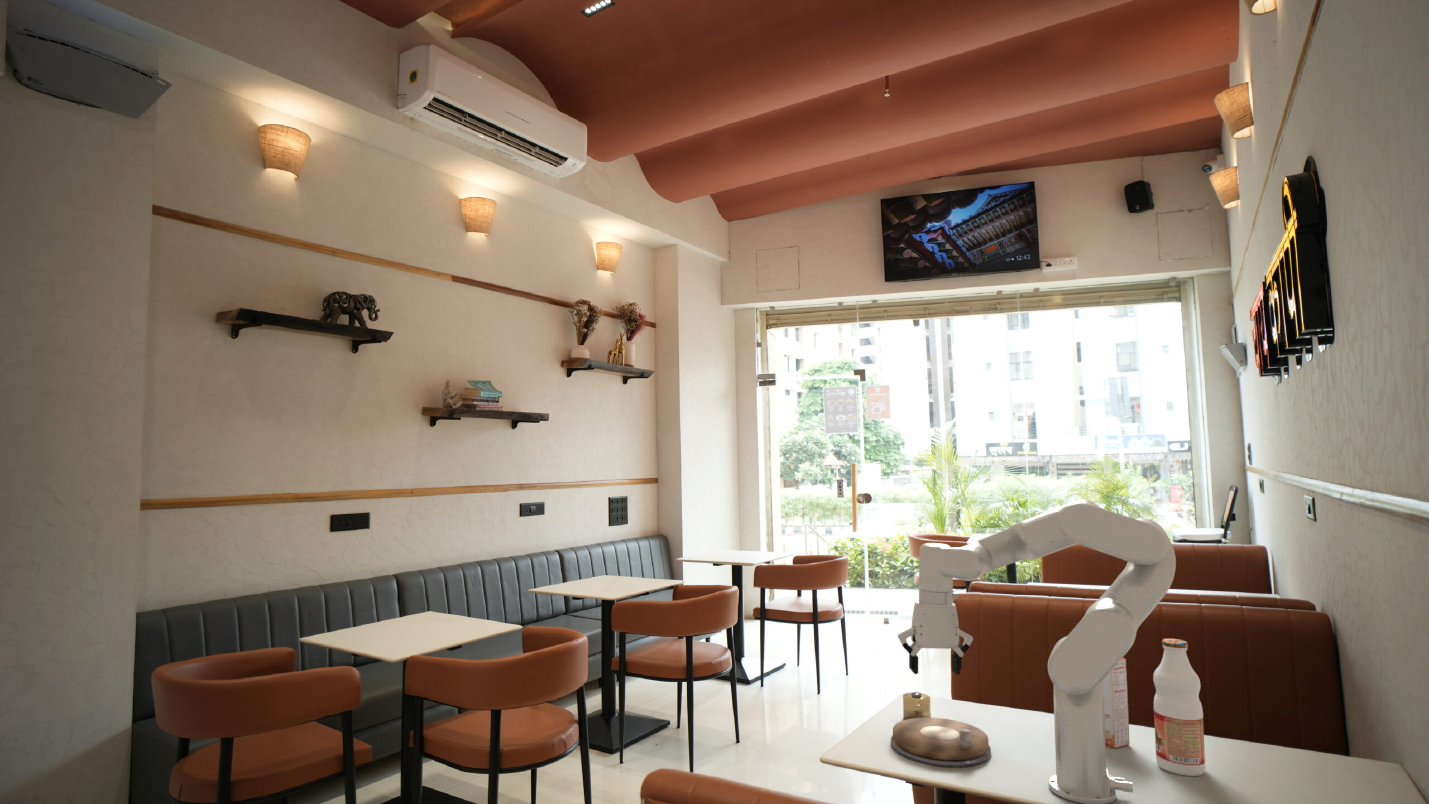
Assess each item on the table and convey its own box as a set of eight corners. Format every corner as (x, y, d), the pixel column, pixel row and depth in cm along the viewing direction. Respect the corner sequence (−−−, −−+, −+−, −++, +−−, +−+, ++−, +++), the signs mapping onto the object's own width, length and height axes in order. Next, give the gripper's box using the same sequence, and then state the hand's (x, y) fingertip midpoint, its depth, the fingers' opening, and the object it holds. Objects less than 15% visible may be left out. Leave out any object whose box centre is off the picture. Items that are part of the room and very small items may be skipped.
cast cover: (932, 717, 200) (931, 691, 201) (928, 725, 194) (928, 698, 194) (905, 713, 203) (905, 688, 204) (901, 721, 197) (900, 695, 197)
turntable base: (993, 738, 185) (993, 734, 185) (987, 774, 164) (987, 769, 164) (899, 725, 194) (899, 721, 194) (882, 757, 173) (882, 753, 173)
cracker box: (1064, 730, 190) (1061, 646, 192) (1080, 726, 193) (1077, 644, 194) (1113, 749, 178) (1110, 660, 179) (1130, 745, 180) (1127, 657, 182)
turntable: (991, 732, 185) (990, 709, 185) (985, 766, 165) (984, 740, 165) (901, 720, 193) (900, 698, 194) (885, 751, 173) (884, 726, 174)
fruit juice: (1188, 780, 161) (1181, 647, 163) (1146, 763, 169) (1141, 638, 171) (1215, 772, 165) (1208, 643, 167) (1173, 756, 173) (1167, 634, 175)
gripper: (966, 594, 177) (965, 668, 176) (894, 593, 176) (893, 667, 175) (978, 601, 169) (978, 678, 168) (903, 599, 169) (902, 677, 168)
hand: (935, 672), depth 172 cm, fingers open, 9 cm apart
